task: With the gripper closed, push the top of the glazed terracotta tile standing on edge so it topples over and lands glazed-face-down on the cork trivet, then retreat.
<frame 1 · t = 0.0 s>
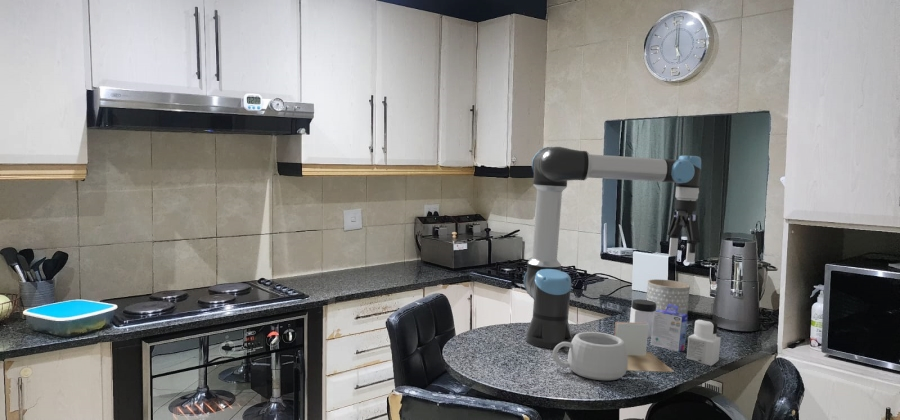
hand: (681, 259, 216), 28 cm above the breakfast bar, fingers open, 13 cm apart
planter: (665, 313, 253), on the breakfast bar
ink cartridge box: (667, 348, 202), on the breakfast bar
container: (702, 361, 191), on the breakfast bar
jar: (641, 335, 217), on the breakfast bar
mug: (588, 372, 174), on the breakfast bar, touching trivet
tile: (629, 354, 191), point 1 cm above the breakfast bar, touching trivet
trivet: (636, 362, 185), on the breakfast bar
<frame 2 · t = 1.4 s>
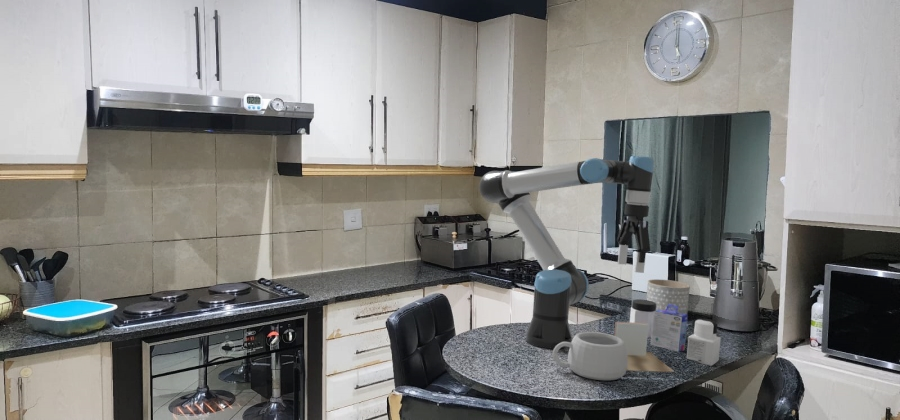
hand: (630, 268, 199), 26 cm above the breakfast bar, fingers open, 13 cm apart
nothing on the breakfast bar moved.
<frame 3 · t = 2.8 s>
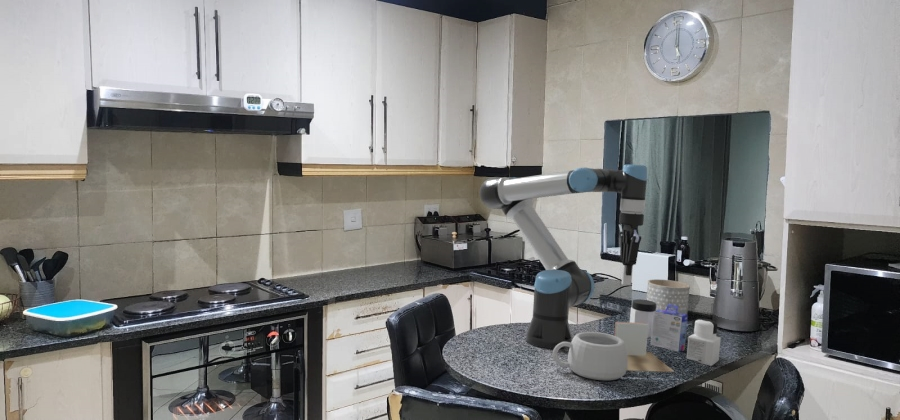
hand: (626, 284, 197), 21 cm above the breakfast bar, fingers closed
nothing on the breakfast bar moved.
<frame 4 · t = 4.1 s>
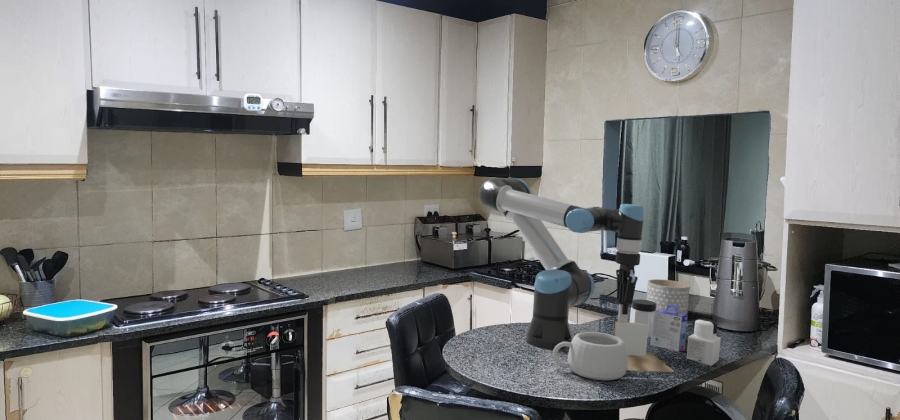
hand: (622, 323, 198), 8 cm above the breakfast bar, fingers closed
nothing on the breakfast bar moved.
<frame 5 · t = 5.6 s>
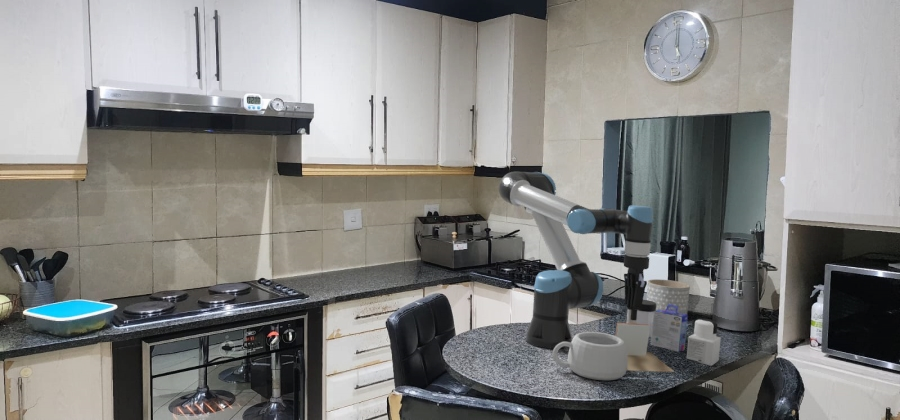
hand: (630, 329, 191), 9 cm above the breakfast bar, fingers closed
tile: (629, 353, 191), point 1 cm above the breakfast bar, tilted 8°, touching gripper, trivet
everything else where it was.
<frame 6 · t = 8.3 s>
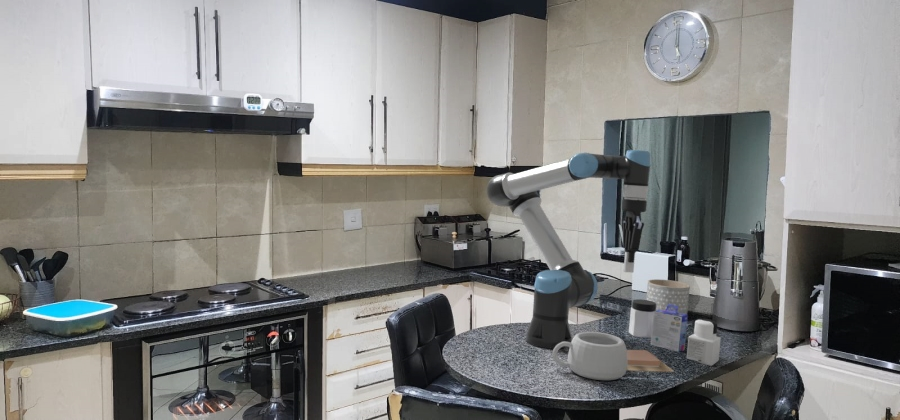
hand: (628, 271, 195), 26 cm above the breakfast bar, fingers closed
tile: (630, 352, 190), point 1 cm above the breakfast bar, tilted 90°, touching trivet
everything else where it was.
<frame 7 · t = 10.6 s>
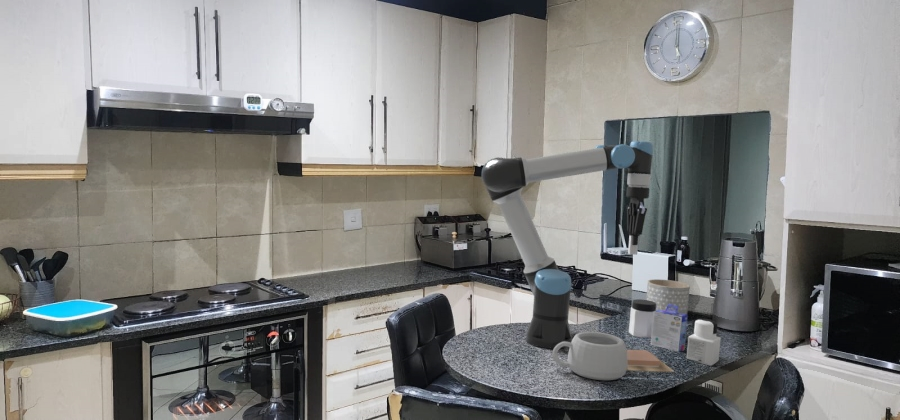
hand: (632, 254, 211), 29 cm above the breakfast bar, fingers closed
nothing on the breakfast bar moved.
at the end: tile tilted 90°; tile inside the target area (5.4 cm from its centre), point 1.5 cm above the breakfast bar; tile touching trivet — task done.
